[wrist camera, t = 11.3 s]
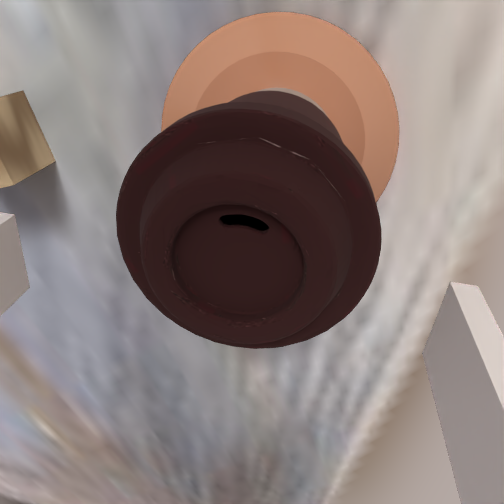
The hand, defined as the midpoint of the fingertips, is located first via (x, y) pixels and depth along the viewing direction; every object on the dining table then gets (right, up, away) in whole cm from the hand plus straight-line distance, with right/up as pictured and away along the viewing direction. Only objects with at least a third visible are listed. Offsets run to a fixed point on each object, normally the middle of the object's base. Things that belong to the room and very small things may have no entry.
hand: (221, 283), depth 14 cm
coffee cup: (+3, +8, +15) cm, 17 cm away
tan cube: (-16, +9, +18) cm, 26 cm away
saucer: (+3, +8, +15) cm, 18 cm away
